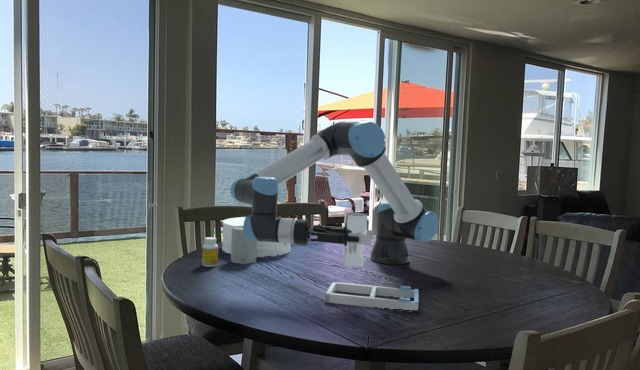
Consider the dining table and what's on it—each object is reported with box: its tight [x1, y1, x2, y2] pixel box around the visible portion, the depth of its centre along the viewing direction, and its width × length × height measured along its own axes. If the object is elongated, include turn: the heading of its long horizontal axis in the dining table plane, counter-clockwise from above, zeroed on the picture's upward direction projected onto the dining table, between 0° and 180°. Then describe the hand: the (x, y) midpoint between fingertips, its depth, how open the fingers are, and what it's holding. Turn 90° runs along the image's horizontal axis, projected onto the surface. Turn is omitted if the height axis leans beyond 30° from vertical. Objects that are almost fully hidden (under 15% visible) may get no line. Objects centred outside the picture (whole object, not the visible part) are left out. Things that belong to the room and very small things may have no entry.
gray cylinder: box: [230, 226, 257, 265], centre depth 189 cm, size 10×10×12 cm
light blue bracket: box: [398, 285, 420, 305], centre depth 147 cm, size 5×13×3 cm, turn 169°
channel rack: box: [324, 281, 419, 311], centre depth 149 cm, size 26×13×2 cm, turn 79°
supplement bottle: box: [201, 236, 219, 268], centre depth 180 cm, size 5×5×10 cm
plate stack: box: [221, 216, 291, 258], centre depth 210 cm, size 28×28×12 cm
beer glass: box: [342, 212, 368, 268], centre depth 149 cm, size 7×7×15 cm
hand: (371, 237), depth 148 cm, fingers closed on beer glass, 7 cm apart
